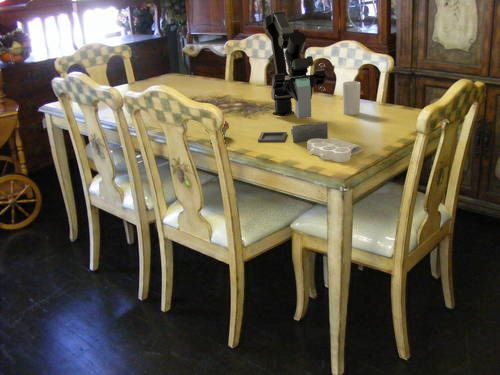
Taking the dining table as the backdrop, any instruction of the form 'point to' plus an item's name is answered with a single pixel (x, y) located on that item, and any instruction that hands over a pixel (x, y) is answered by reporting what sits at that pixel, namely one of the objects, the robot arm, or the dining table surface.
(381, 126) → the dining table surface
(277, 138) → the tray
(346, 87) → the mug
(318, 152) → the white muffin tray
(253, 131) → the dining table surface
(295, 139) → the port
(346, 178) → the dining table surface
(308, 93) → the plug
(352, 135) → the dining table surface
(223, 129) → the cupcake
